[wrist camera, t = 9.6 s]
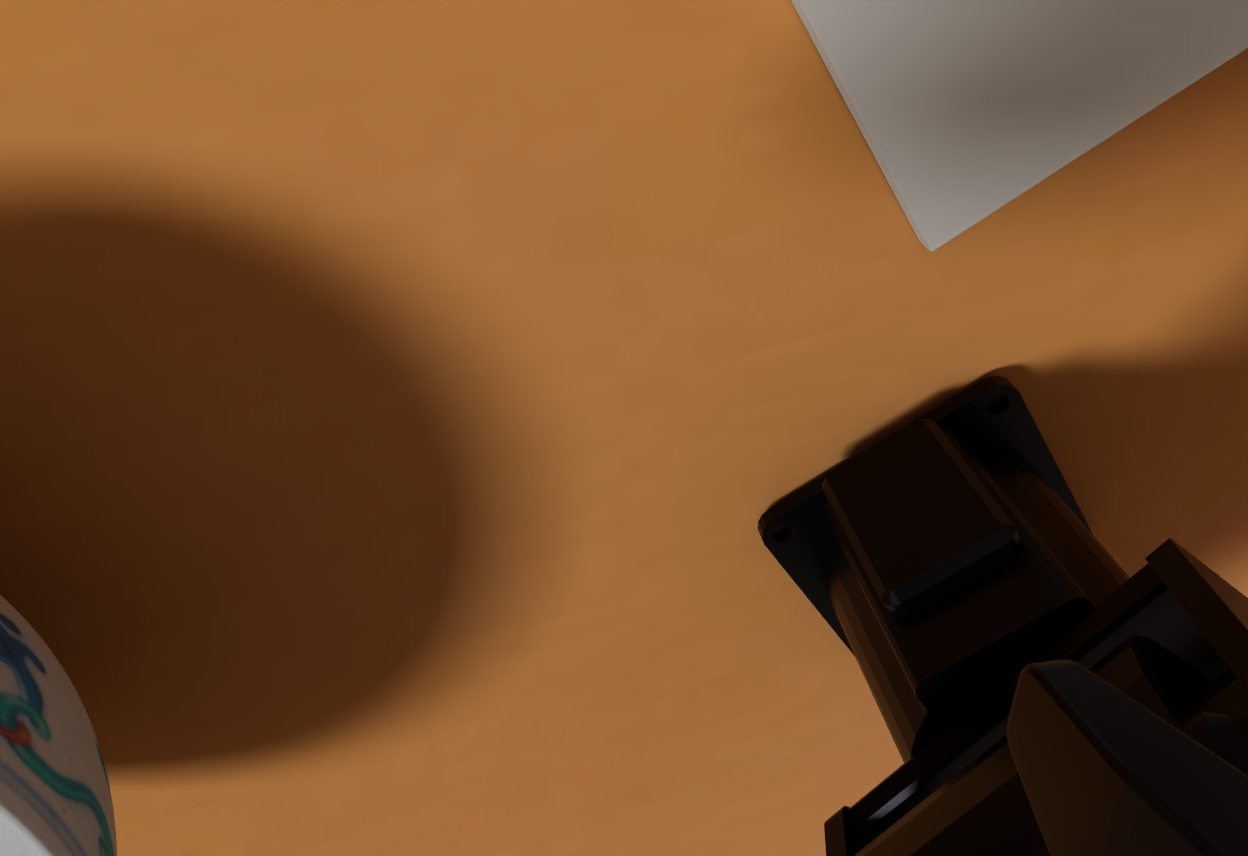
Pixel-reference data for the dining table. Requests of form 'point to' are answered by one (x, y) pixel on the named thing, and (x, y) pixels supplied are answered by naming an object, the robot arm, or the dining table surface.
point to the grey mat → (1006, 86)
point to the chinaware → (47, 754)
